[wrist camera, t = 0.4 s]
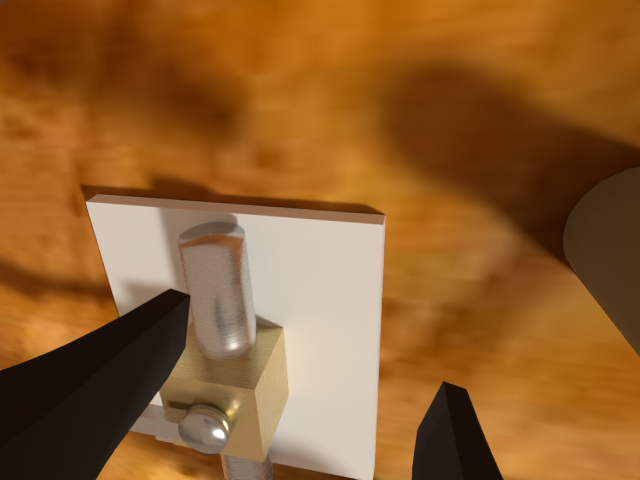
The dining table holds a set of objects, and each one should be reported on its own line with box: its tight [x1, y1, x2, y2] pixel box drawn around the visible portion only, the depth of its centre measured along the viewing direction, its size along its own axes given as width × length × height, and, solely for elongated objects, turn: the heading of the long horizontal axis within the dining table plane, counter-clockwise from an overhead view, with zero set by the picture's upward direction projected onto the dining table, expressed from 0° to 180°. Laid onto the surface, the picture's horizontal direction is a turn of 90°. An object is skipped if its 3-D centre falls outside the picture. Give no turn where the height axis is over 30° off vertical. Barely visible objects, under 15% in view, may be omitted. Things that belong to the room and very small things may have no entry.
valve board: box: [86, 194, 386, 480], centre depth 27 cm, size 18×15×1 cm
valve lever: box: [129, 404, 233, 454], centre depth 22 cm, size 11×2×3 cm, turn 91°
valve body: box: [159, 222, 289, 480], centre depth 24 cm, size 17×5×4 cm, turn 2°
